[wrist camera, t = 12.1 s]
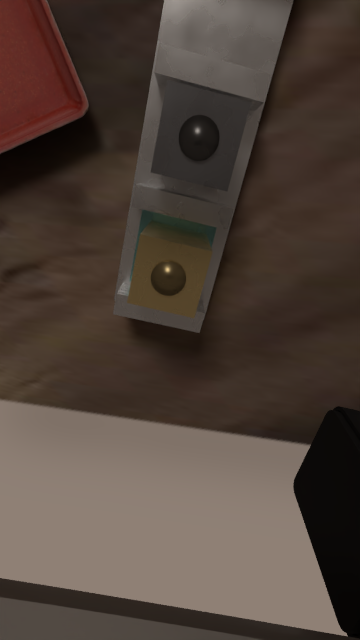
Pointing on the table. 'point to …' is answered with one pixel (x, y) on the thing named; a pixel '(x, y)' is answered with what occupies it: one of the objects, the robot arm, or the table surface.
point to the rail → (216, 76)
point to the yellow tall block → (170, 269)
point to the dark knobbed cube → (199, 135)
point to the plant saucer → (34, 74)
